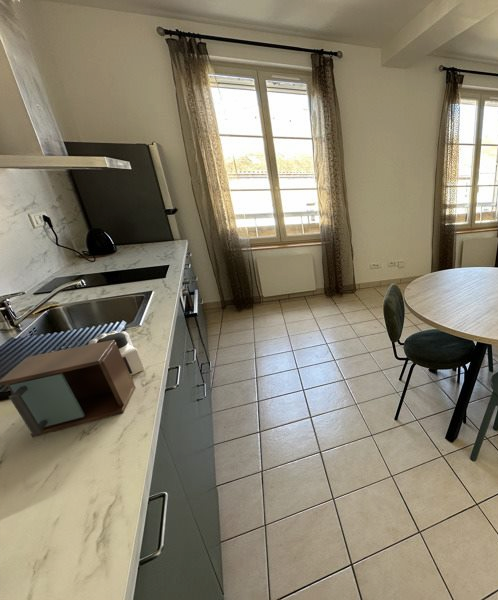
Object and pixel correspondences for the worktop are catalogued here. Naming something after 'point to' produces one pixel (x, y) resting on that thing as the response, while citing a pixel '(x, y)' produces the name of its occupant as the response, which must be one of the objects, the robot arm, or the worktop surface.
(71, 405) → the sliding door
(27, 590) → the worktop surface
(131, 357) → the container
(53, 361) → the cupboard
